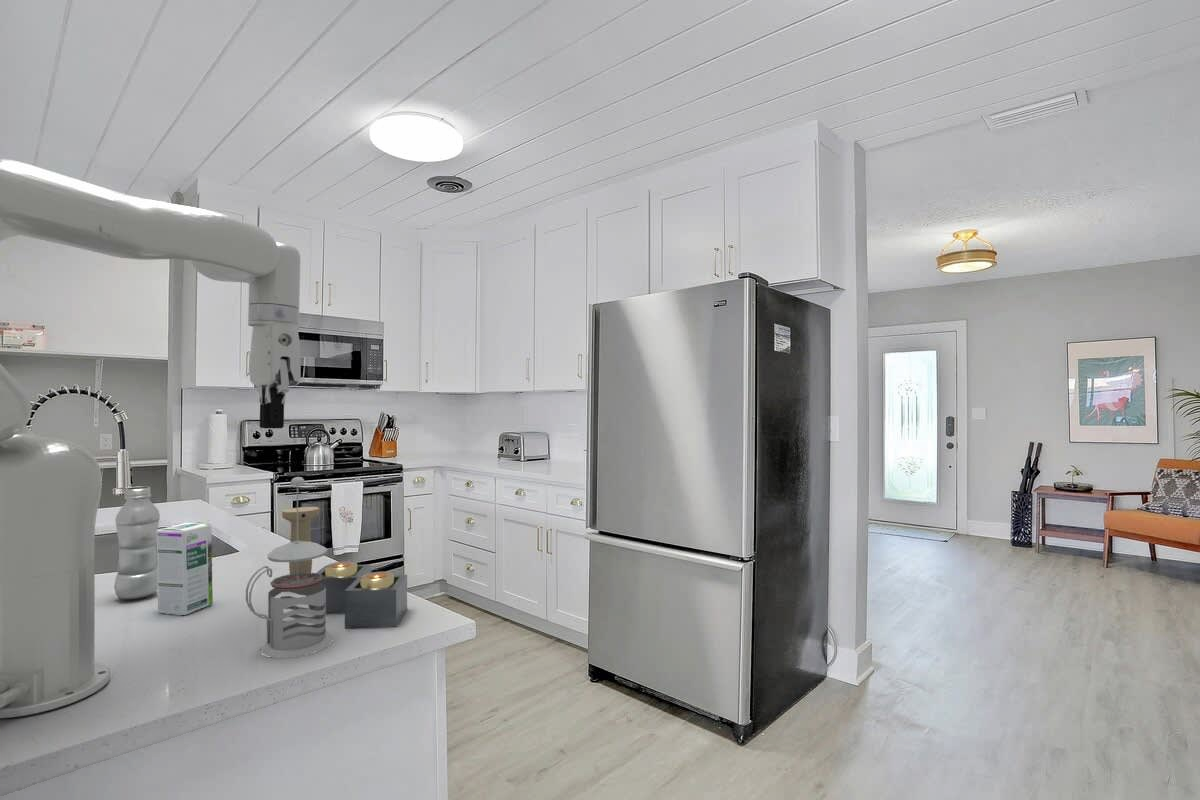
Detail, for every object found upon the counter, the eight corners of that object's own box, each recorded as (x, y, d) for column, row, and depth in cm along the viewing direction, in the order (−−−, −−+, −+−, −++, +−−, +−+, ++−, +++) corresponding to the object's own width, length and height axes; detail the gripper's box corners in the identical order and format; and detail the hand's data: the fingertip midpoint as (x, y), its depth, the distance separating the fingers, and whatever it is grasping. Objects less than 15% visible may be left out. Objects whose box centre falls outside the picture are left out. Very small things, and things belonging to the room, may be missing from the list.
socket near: (396, 626, 98) (396, 589, 98) (344, 628, 98) (344, 590, 98) (407, 609, 106) (407, 574, 106) (359, 610, 106) (359, 575, 106)
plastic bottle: (105, 601, 109) (105, 489, 109) (143, 590, 116) (143, 484, 116) (131, 605, 107) (131, 491, 107) (168, 593, 114) (168, 486, 114)
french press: (343, 644, 91) (344, 477, 91) (257, 669, 83) (257, 484, 83) (319, 626, 98) (319, 471, 98) (237, 647, 90) (237, 477, 90)
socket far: (357, 612, 105) (357, 577, 105) (309, 613, 104) (309, 578, 104) (370, 597, 113) (370, 564, 113) (325, 598, 112) (325, 565, 112)
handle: (279, 587, 118) (279, 509, 118) (315, 581, 122) (315, 505, 122) (284, 593, 114) (284, 513, 114) (321, 587, 118) (321, 509, 118)
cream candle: (351, 601, 106) (351, 567, 106) (320, 601, 105) (320, 568, 105) (360, 591, 111) (360, 559, 111) (330, 592, 111) (331, 560, 111)
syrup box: (185, 616, 102) (185, 529, 102) (155, 613, 104) (155, 528, 103) (213, 605, 108) (213, 522, 108) (184, 602, 109) (184, 521, 109)
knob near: (389, 614, 100) (389, 578, 100) (356, 615, 99) (356, 579, 99) (396, 603, 105) (397, 569, 105) (365, 604, 104) (365, 570, 104)
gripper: (316, 317, 100) (313, 429, 100) (280, 324, 110) (277, 426, 110) (267, 311, 95) (264, 430, 94) (233, 319, 105) (231, 426, 104)
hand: (271, 427), depth 102 cm, fingers closed
